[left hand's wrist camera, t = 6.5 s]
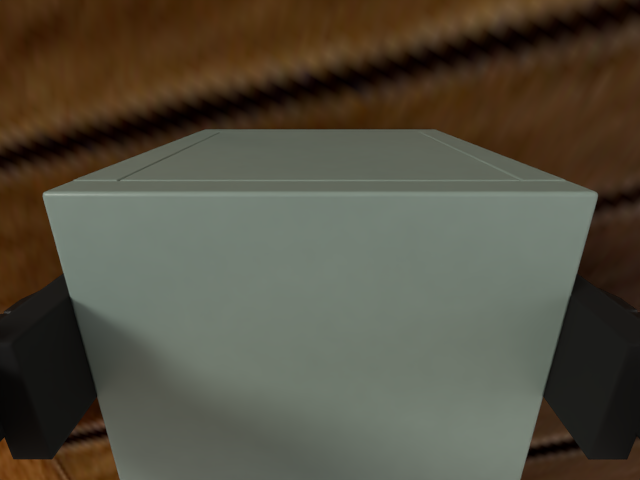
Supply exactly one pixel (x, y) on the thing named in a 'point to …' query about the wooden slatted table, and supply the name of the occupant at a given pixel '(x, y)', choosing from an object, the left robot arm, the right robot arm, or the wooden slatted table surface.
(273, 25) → the wooden slatted table surface
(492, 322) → the cabinet
